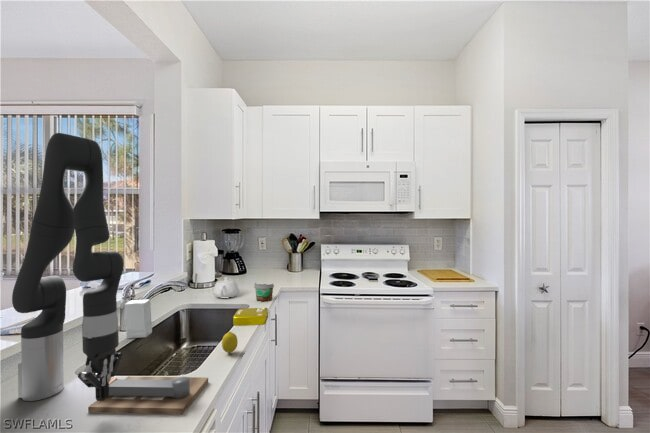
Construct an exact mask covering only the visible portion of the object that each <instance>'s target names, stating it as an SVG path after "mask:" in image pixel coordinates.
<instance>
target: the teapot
mask: <svg viewBox="0 0 650 433" xmlns="http://www.w3.org/2000/svg"><path fill="white" fill-rule="evenodd" d="M239 292H240V288H239V286H238V284H237V281H236V280H234V279H232V277H229V276H226V277H223V279H221V280H217V281H216V283H215V285H214V286H213V290H212V294H213V296H215V297H216V298H217V297H233V296H235V297H236V296H238V294H239ZM233 298H234V297H233Z"/></svg>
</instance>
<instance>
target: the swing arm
mask: <svg viewBox="0 0 650 433" xmlns="http://www.w3.org/2000/svg"><path fill="white" fill-rule="evenodd" d="M179 377H180V378H177V379H175V380H140V379H126V378H120V379H119V378H118V377H111V380H110V382H109V395H111V396H172V397H173V398H175V399H180V398H184V397H186V396H188V395H189V393H190V379H189V378H188V377H189V376H179Z"/></svg>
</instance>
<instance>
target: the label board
mask: <svg viewBox="0 0 650 433" xmlns="http://www.w3.org/2000/svg"><path fill="white" fill-rule="evenodd" d="M180 377H181V376H179V377H178V376H127V377H125V379H140V380H175V379H177V378H180ZM187 377H188V378H189V379H190V393H189V395H188V396H186V397H184V398H180V399H175V398H173V397H172V396H111V395H109V397H108V398H106V399H105V400H104V401H97V400H95V401H94V402H93V403H92V404H90V405H89V406H87V408H88V409H87V410H88V412H87V413H88V414H91V413H93V414H136V415H137V414H138V415H141V414H142V415H143V414H145V415H148V414H149V415H150V414H151V415H152V414H153V415H185V413H186V411H187V410H188V409H189V408H190V406H191V405H192V404H193V402H194V401H195V400H196V399H197V397H198V396H199V395H200V394H201V392H202V391H203V390H204V389H205V387H206V386H207V385H208V384H209V377H202V376H201V377H198V376H197V377H195V376H194V377H190V376H187Z"/></svg>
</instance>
